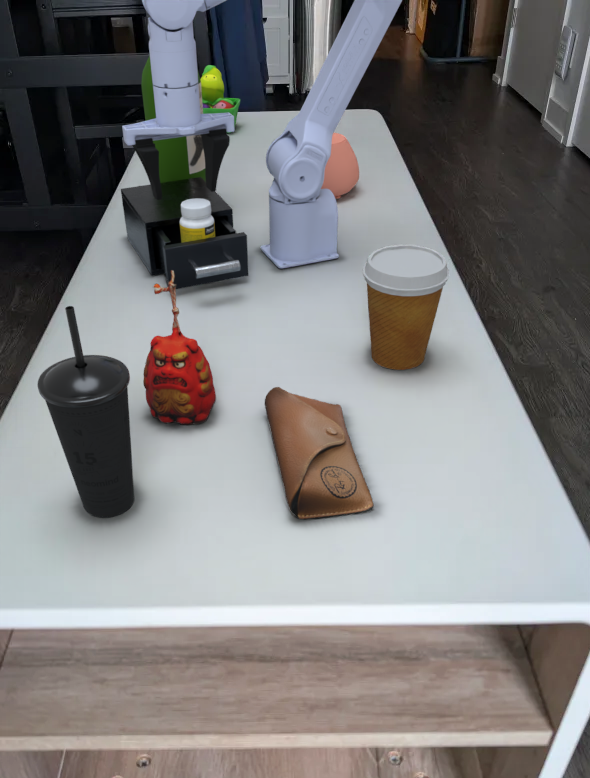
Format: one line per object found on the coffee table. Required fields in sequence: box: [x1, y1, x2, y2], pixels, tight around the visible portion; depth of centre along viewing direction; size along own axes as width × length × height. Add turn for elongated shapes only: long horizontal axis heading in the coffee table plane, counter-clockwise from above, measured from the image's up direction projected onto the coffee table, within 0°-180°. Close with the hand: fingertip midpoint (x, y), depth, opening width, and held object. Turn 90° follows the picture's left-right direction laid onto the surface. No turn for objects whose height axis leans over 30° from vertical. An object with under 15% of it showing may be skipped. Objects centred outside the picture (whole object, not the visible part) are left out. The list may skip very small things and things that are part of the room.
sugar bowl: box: [321, 132, 360, 200], centre depth 134 cm, size 12×14×10 cm
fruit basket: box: [200, 64, 241, 134], centre depth 163 cm, size 11×9×11 cm
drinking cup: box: [37, 305, 135, 518], centre depth 69 cm, size 8×8×20 cm
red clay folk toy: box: [143, 270, 217, 426], centre depth 82 cm, size 8×7×15 cm
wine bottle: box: [140, 54, 206, 183], centre depth 121 cm, size 9×9×32 cm
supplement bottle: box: [180, 198, 215, 243], centre depth 109 cm, size 5×5×8 cm
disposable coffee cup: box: [362, 244, 451, 371], centre depth 91 cm, size 10×10×12 cm
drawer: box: [152, 216, 249, 290], centre depth 110 cm, size 18×11×6 cm, turn 21°
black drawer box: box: [120, 177, 234, 277], centre depth 118 cm, size 15×13×8 cm
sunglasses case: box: [264, 386, 375, 520], centre depth 79 cm, size 18×7×7 cm
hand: (184, 193), depth 109 cm, fingers open, 7 cm apart
